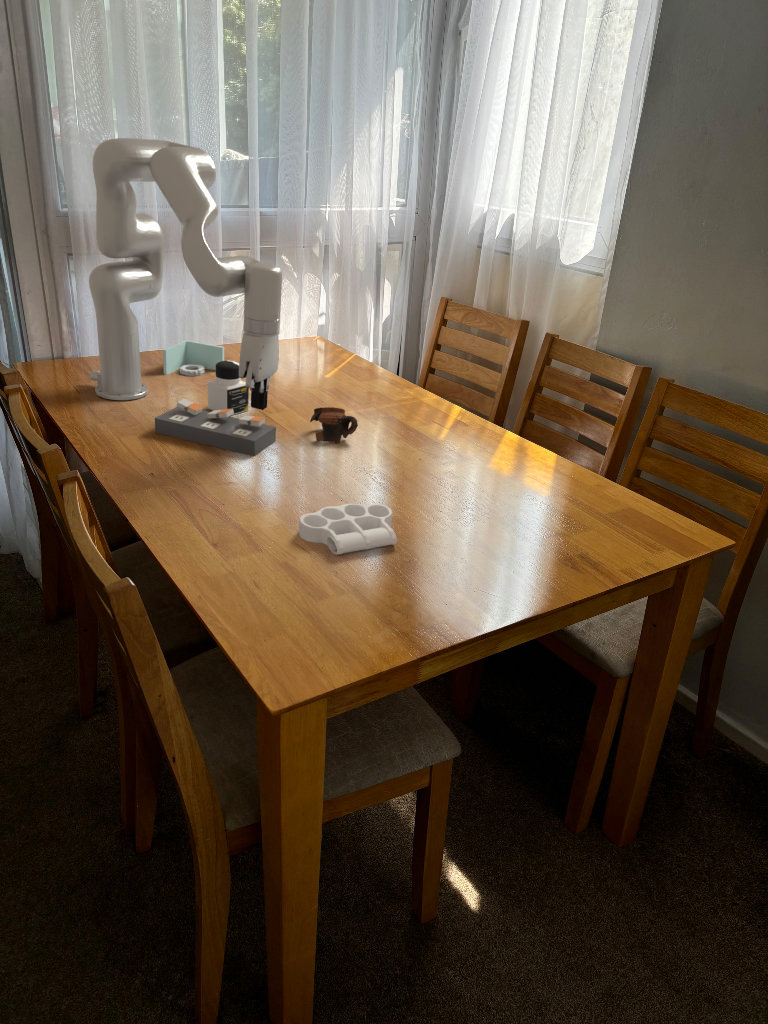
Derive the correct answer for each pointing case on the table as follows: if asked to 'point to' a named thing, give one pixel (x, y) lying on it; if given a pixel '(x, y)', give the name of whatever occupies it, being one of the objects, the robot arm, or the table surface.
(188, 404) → the rocker
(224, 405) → the medicine bottle
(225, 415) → the rocker
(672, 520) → the table surface
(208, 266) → the robot arm
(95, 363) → the table surface
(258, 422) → the rocker
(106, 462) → the table surface
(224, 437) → the power strip
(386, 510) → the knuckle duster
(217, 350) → the right angle wall
